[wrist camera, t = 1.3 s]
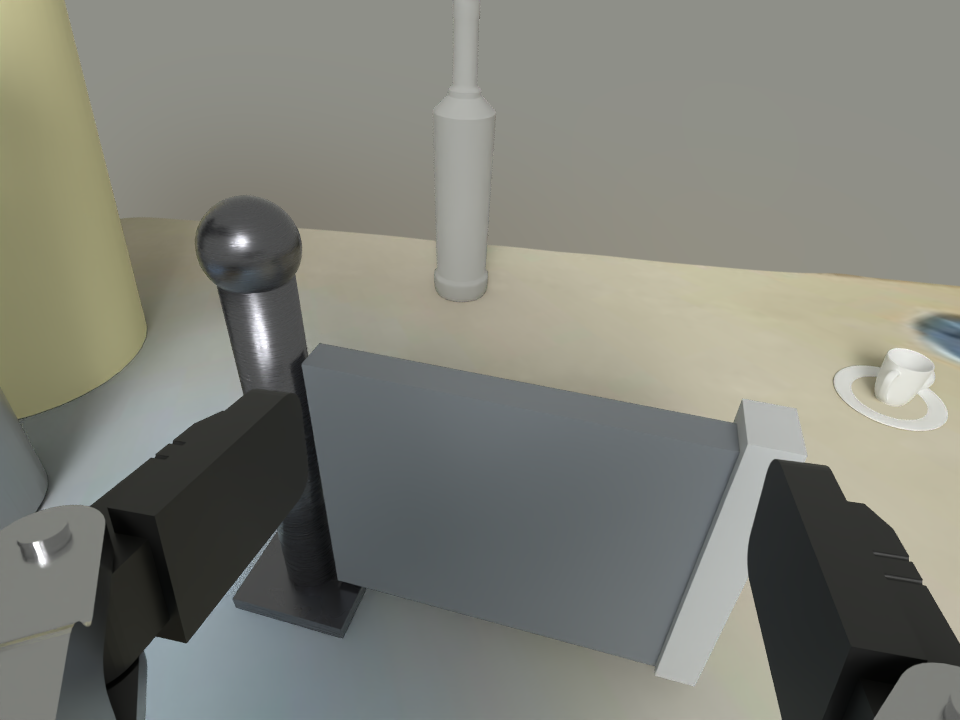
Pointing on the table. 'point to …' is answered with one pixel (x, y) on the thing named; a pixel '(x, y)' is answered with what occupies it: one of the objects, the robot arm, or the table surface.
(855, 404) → the teacup and saucer
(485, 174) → the bottle
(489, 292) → the table surface
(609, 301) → the table surface
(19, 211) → the cone light
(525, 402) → the gate
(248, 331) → the gate post
